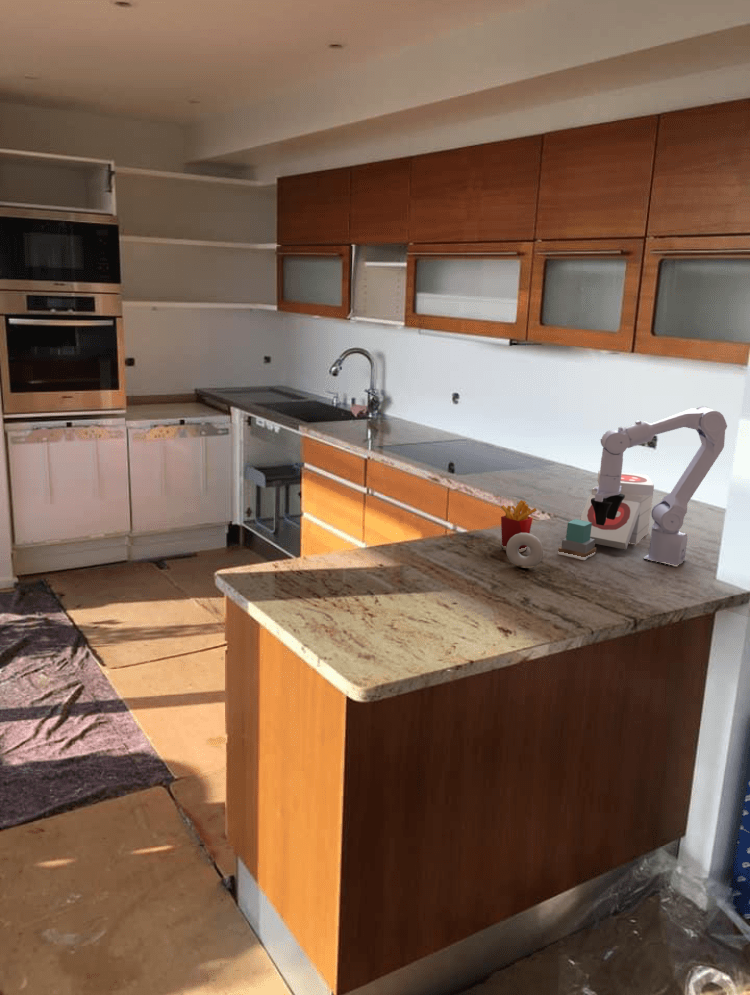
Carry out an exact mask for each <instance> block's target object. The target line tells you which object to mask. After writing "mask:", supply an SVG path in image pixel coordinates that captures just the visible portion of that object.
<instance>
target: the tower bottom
mask: <svg viewBox="0 0 750 995" xmlns="http://www.w3.org/2000/svg"><path fill="white" fill-rule="evenodd" d="M561 547H562V545H561V546H559V547H558V550H557V552H558V551H559V552H564V553H568V554H573V555H577V556H581V557H586V556H588V555H590V554H592V553H594V552H596V553H597V547H595V546H594V548H593V549H591V550H590V551H588V552H587V553H580V552H576V551H571V550H567V549H563V548H561Z"/></svg>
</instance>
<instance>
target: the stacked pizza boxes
mask: <svg viewBox="0 0 750 995" xmlns="http://www.w3.org/2000/svg"><path fill="white" fill-rule="evenodd" d="M599 478H600V470H598V473H597V483H598V484H597V485H596V486H594V487H592V489H591V494H589V496H588V498H587V501H586V503H585V506H584V508H583V511H582V513H581V516H580V519H579V520H582V521H587V522H591V523H592V526H591V535H590V538H591V539H595V545H601V546H607V547H611V548H615V549H616V548H617V549H620V550H627V548H628V546H629V544H628V543H629V542H630V543H635V544H636V543H637V542H638V541H639V542H641V541H642V540H643V539H644V538H643V537H644V536H645V535H646V536H647V535H648V534H649V528H650V521H651V516H652V515H651V512H652V508H653V507H652V506H653V499H654V498H653V497H654V490H655V489H654V488H655V485H654V483H653V481H652V480H651V478H650V476H649V475H648V474H646V473H645V474H644V473H633V472H622V473H621V483H620V486H622V490H621V493H620V494H624V495H625V498H624V499H623V501H622V502H621V504H620V506H619V509H618V511H617V514H616V517H615V519H614V520H612V519H607V518H606V522H605V524H604V525H598V524H596V518H595V512H594V508H593V506H592V504H591V499H592V498H595V494H596V493H597V491H595V490H594V488H595V487H599ZM646 536H645V537H646ZM642 538H643V539H642ZM641 539H642V540H641ZM639 542H638V543H639ZM638 543H637V544H638ZM637 544H636V545H637Z"/></svg>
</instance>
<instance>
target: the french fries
mask: <svg viewBox="0 0 750 995" xmlns="http://www.w3.org/2000/svg"><path fill="white" fill-rule="evenodd" d="M500 507H501V509H502V510H503V511H504V513H505V515H503V516H501V517H500V525H501V528H500V529H501V531H500V532H501V546H502V545H503V546H506V547H507V543H508V541H509V540H510V538H511V537H513V536H514V535H515V534H518V533H529V534H531V533H530V532H531V528H532V523H533V517H531V515H532V514H534V513H535V512H537V508H536V507H534V508H532V509H531V507H529V504H527V502H526V501H525V500H522V499H520V500H519V501H518V503H517V505H516V506H514V505H512V506H511V505H507V507H506V506H505V505H504V504H502V505H501V506H500ZM511 509H512V510H513V512H512V510H511ZM525 547H528V546H526V545H522V546H520V547H519V549H521V548H525Z"/></svg>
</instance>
